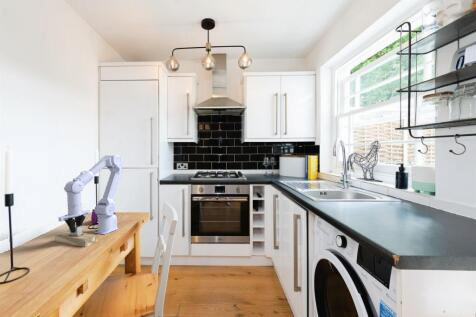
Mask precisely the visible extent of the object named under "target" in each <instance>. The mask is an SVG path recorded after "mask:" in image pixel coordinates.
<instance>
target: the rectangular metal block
mask: <svg viewBox="0 0 476 317" xmlns="http://www.w3.org/2000/svg"><path fill="white" fill-rule="evenodd" d="M68 231H69V236H75V237H79V236H82V233H83V225H82V226H78V225H76V224H75V233H71V232H70V229H69V228H68Z"/></svg>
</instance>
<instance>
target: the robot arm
mask: <svg viewBox="0 0 476 317" xmlns="http://www.w3.org/2000/svg"><path fill="white" fill-rule="evenodd" d="M123 162H124V160H123V159H122V157H121V156H120V155H119V154H115V155H114V154H113V155H111V154H110V155H108V154H106V155H103V157H101V158H100V159H99V160H98V162H96V163H95V164H94V165H93V166H92V167H91V168H90V169H88V171H87V170H84V171H81V172H80V174H79V175H78V176H76V177H74V178H72V181H71V180H70V181H68V182H67V183H65V185H64V187H63V189H64V192H66V195H67V197H66V199H67V214H65V215H62V216H58V222H65V223H66V225H67V227H68V230H69V229H70V232H71V233H75V225H78V226H82V227H83V224H84V221H85V220H86V215H89V214H91V210H90V209H86V210H82V208H83V207H82V192H83V190H84V188H85V186H86V185H87V184H88V183H90V182H91V181H93V179H94V175H96V174H97V173H98V172H100V171H101V170H103V169H104V168H107V169H108V170H109V171H110V174H109V177H108V180H107V182H106V183H107V184H106V186H105V189H104V193H103V195H102V198H101V199H99V201H98V202H97V204H96V205H95V207H94V212H95V214H97V216H98V224H97V231H94V232H93V233H94V234H100V235H107V234H109V233H111V232H114V231H118V230H119V227H118V217H117V215H116V213H115V214H113V213H114V212H115V210H116V203H115V201H114V198H115V194H116V193H117V192H116V191H117V188H118V184H119V181H120V178H121V177H122V176H121V175H122V173H123Z"/></svg>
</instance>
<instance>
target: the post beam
mask: <svg viewBox="0 0 476 317" xmlns="http://www.w3.org/2000/svg"><path fill="white" fill-rule="evenodd" d="M54 242H57V243H62V244H67V245H73V246H79V247H83V248H86V247H89V246H91V245H94V244H96V243H99V242H98V234H95V233H94V234H93V233H86V232H82V236H79V237H75V236H69V230H66V231H62V232H58V233H56V234H54Z"/></svg>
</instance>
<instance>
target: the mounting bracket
mask: <svg viewBox="0 0 476 317" xmlns="http://www.w3.org/2000/svg"><path fill="white" fill-rule="evenodd" d="M94 209H95V208H94ZM94 209H91V210H92V212H91V216H90V217H91V218H90V220H91V224H92V225H96V224H95V223H97V222H98V216H97V214H95V212H94ZM113 214H115V215H116V212H115V211H114V213H113Z"/></svg>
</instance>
